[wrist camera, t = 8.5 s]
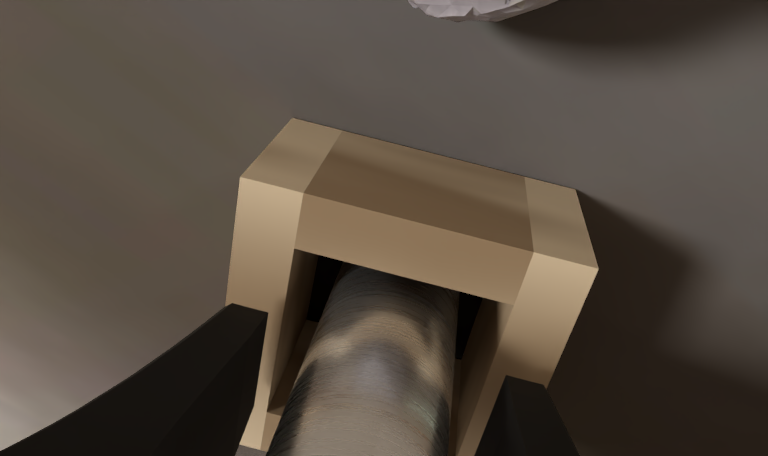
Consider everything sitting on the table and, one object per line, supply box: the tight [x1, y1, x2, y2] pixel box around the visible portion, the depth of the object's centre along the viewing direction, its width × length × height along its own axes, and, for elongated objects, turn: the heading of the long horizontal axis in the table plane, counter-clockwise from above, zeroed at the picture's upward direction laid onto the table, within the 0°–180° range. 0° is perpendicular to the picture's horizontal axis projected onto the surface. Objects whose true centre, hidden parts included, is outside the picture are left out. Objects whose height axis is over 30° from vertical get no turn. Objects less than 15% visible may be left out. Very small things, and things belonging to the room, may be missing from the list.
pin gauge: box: [266, 261, 460, 456], centre depth 10 cm, size 2×2×8 cm
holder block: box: [225, 118, 599, 456], centre depth 13 cm, size 6×6×3 cm
